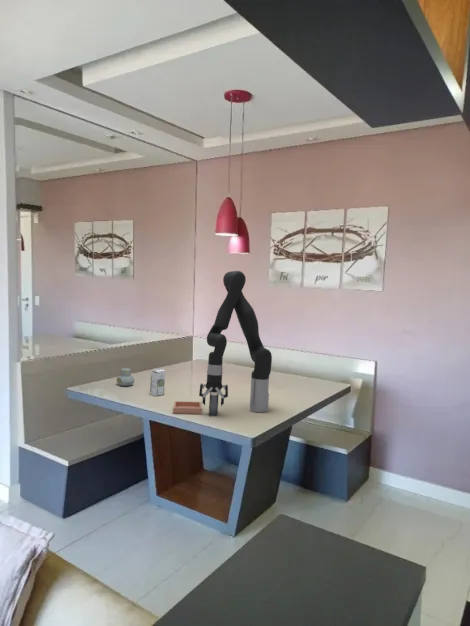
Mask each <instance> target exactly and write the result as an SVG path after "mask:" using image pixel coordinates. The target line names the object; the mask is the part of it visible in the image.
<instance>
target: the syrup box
mask: <svg viewBox="0 0 470 626" xmlns="http://www.w3.org/2000/svg"><path fill="white" fill-rule="evenodd" d="M165 380H166V369H163V368H155V369H154V368H153V369H151V371H150V389H149V395H151V396H153V397H154V396H155V397H160V396H164V395H165V385H166V384H165V383H166V382H165Z"/></svg>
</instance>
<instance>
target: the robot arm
mask: <svg viewBox="0 0 470 626" xmlns="http://www.w3.org/2000/svg"><path fill="white" fill-rule="evenodd" d="M222 280H223V286H224V287H225V290H226V291H227V294H226V297H225V298H224V300H223V302H222V303H221V305H220V307H219V308H218V311H217V313H216V317H215V320H214V323H213V325H212V326H211V328H210V330H209V332H208V333H207V336H206V343H207V345H208V346H210V347H212V348H214V349H213V351H211V352H209V354H208V361H207V362H208V364H207V370H206V373H207V374H206V384H205V383H200V385H199V393H198V394H199V395H198V396H199V397H202V401H201V402H202V404H203V406H206V400H207V399H206V397H207V395H208V394H210V392H218V393H219V396H220V407H221V406H223V405H224V404H225V398H228V397H229V389H228V388H229V386H228V385H229V384H223V373H224V372H223V368H224V367H223V360H224V358H223V357H224V354H225V351H226V348H227V343H228V342H227V341H228V340H227V337H226V336H225V334H222V331H225V330H227V329H228V328H229V324H230V322H231V318H232V316H233V313H234V312H235V314H236V317H237V321H238V323H239V327H240V328H241V331H242V334H243V336H244V338H245V341H246V343H247V347H248V350H249V352H248V353H249V356H250V358H251V360H252V362H253V363H254V365H253V367H254V368H253V370H252V372H251V379H250V394H249V395H250V397H249V400H250V401H249V410H250V411H251V412H253V413H266V412H269V400H270V398H269V397H270V394H269V388H270V387H269V386H270V385H269V384H270V375H271V372H272V371H271V370H272V362H273V356H272V355H273V354H272V352H271V350H269V349H267V348H266V347H265V346H264V345H263V343H262V341H261V337H260V332H259V329H260V328H259V322H258V318H257V316H256V312H255V310H254V308H253V307H252V305H251V304H250V303H249V301H248V300H247V298H246V296H245V295H244V294H243V288H244V287H245V284H246V275H245V274H244V272H243V271H240V270H234V271H233V270H232V271H227V272H226V273H225V274H224V276H223V278H222ZM205 388H206V390H205V392H204V393H203V389H205ZM222 389H223V390H224V391H225V392H224V393H225V394H224V393H223V392H222V391H221V390H222Z"/></svg>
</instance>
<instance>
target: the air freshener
mask: <svg viewBox="0 0 470 626" xmlns="http://www.w3.org/2000/svg"><path fill="white" fill-rule="evenodd" d="M131 374H132V370H131V368H129V367H122V368H121V369H120V375H119V376H118V377H117V378H116V383H117V384H118V385H119V386H120V387H128V386H131V385H133V384H134V383H135V378H134V376H133V375H131Z"/></svg>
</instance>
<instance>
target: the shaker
mask: <svg viewBox="0 0 470 626" xmlns="http://www.w3.org/2000/svg"><path fill="white" fill-rule="evenodd" d="M219 396H220V395H219V393H218V392H210V393H209V404H208V405H209V406H208V408H209V409H208V415H209V416H210V417H218V415H219Z"/></svg>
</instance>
